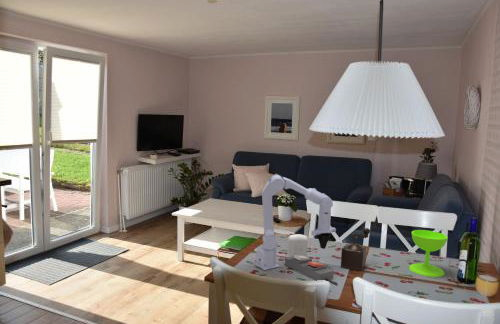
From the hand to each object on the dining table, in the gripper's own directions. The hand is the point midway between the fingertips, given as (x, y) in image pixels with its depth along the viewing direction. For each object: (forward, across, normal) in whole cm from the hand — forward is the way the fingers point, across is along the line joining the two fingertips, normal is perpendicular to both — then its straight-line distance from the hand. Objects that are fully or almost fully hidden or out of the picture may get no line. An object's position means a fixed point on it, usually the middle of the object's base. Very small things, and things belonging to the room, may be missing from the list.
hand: (322, 248), depth 194 cm
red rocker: (+4, -10, -6) cm, 12 cm away
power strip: (+9, -10, -4) cm, 14 cm away
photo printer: (+10, -2, +16) cm, 19 cm away
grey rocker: (+4, -10, +4) cm, 12 cm away
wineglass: (+10, +42, -29) cm, 52 cm away
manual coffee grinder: (+10, +17, -6) cm, 20 cm away
